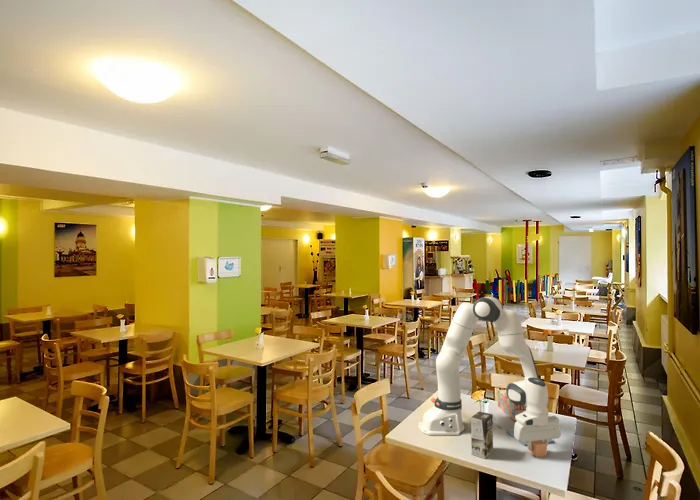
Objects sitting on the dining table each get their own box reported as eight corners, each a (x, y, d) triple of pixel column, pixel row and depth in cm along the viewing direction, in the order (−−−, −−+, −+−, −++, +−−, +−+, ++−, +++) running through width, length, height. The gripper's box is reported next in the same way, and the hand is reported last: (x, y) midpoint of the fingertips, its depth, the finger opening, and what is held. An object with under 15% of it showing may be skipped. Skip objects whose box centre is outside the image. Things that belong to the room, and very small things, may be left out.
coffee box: (485, 459, 168) (485, 420, 168) (470, 454, 172) (470, 416, 172) (493, 451, 175) (493, 414, 175) (479, 446, 179) (479, 410, 179)
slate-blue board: (524, 446, 179) (524, 443, 179) (506, 432, 193) (506, 430, 193) (554, 443, 182) (554, 440, 182) (534, 429, 196) (534, 427, 196)
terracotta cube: (536, 456, 170) (535, 445, 170) (528, 451, 175) (528, 439, 175) (546, 455, 171) (546, 444, 171) (539, 450, 176) (539, 438, 176)
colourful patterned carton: (497, 406, 227) (497, 384, 227) (508, 406, 227) (508, 384, 228) (514, 421, 206) (514, 397, 206) (526, 421, 206) (526, 397, 206)
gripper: (553, 412, 178) (553, 443, 178) (511, 416, 174) (512, 448, 174) (563, 418, 172) (564, 450, 172) (520, 422, 168) (520, 455, 168)
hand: (537, 449), depth 173 cm, fingers open, 5 cm apart
